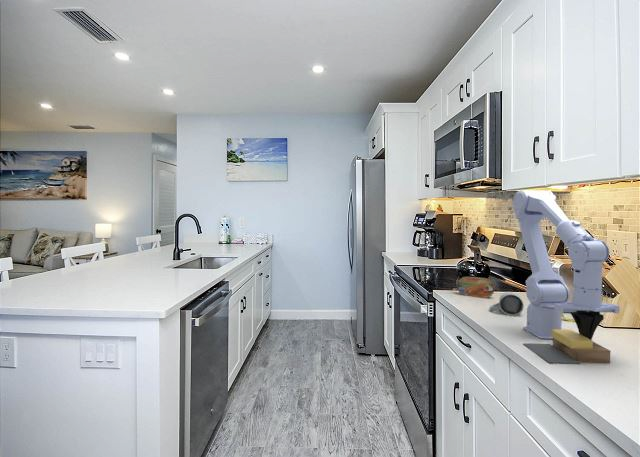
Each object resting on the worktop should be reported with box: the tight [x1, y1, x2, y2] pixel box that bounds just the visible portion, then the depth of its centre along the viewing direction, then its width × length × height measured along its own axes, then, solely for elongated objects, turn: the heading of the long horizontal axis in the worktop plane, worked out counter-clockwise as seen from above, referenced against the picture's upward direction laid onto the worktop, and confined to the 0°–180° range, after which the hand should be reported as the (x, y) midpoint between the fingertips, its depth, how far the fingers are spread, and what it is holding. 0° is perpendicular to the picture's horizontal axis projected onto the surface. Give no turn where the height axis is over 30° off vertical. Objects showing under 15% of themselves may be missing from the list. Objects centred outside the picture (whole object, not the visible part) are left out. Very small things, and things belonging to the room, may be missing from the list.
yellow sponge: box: [552, 329, 594, 349], centre depth 88 cm, size 8×5×2 cm, turn 176°
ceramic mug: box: [488, 291, 525, 317], centre depth 125 cm, size 11×8×8 cm
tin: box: [456, 276, 496, 299], centre depth 149 cm, size 15×3×8 cm, turn 55°
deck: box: [552, 338, 612, 364], centre depth 88 cm, size 10×8×3 cm
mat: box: [522, 342, 581, 365], centre depth 89 cm, size 12×7×1 cm, turn 176°
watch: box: [562, 312, 575, 322], centre depth 115 cm, size 6×3×6 cm, turn 74°
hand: (585, 340), depth 88 cm, fingers closed
